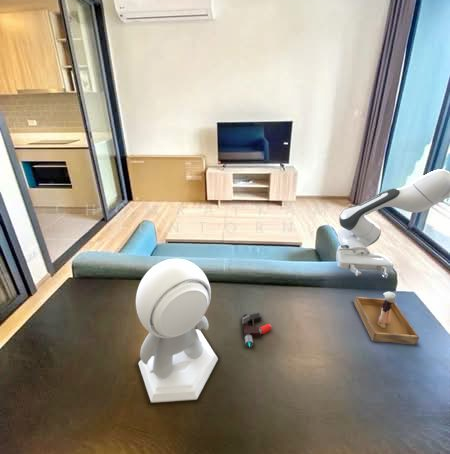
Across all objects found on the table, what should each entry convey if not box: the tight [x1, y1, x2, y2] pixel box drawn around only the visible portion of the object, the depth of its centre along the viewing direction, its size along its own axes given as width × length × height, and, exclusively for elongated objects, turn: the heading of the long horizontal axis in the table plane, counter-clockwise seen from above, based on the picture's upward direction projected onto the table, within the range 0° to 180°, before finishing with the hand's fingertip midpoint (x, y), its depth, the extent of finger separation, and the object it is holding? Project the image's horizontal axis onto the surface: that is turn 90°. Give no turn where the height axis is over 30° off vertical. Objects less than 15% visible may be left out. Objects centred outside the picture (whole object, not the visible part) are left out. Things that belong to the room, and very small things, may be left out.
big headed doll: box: [135, 258, 219, 404], centre depth 66 cm, size 20×23×35 cm
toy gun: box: [241, 312, 272, 348], centre depth 81 cm, size 10×12×5 cm
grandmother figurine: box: [377, 291, 397, 328], centre depth 83 cm, size 8×4×13 cm, turn 148°
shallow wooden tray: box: [353, 296, 420, 345], centre depth 85 cm, size 13×15×4 cm
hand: (372, 275), depth 93 cm, fingers open, 8 cm apart
